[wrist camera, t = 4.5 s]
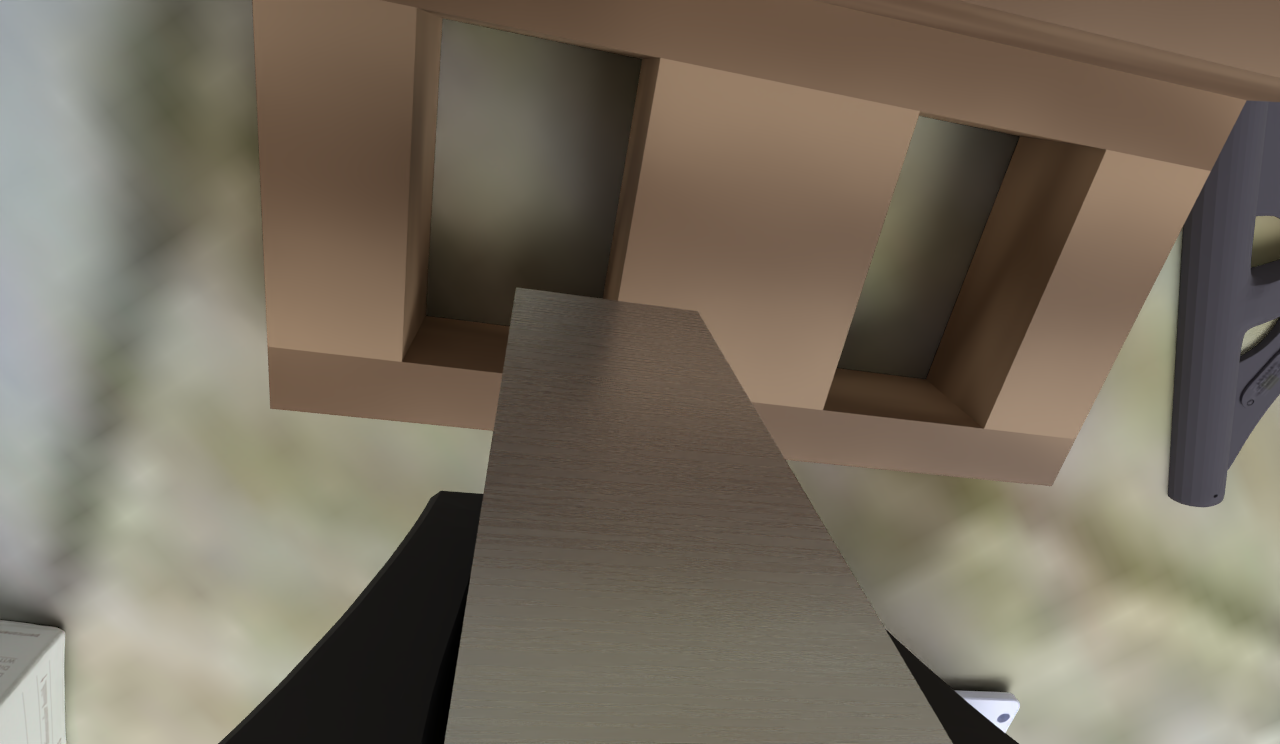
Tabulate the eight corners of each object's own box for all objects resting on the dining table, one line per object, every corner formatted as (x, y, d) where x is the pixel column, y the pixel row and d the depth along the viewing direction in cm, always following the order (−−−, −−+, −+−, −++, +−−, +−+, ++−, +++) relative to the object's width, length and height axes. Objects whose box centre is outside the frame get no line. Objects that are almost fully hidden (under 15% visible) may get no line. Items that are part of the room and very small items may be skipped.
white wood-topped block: (634, 596, 14) (727, 1199, 6) (484, 589, 13) (400, 1240, 6) (698, 311, 11) (965, 767, 4) (516, 287, 11) (441, 763, 3)
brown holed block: (988, 432, 21) (1137, 559, 16) (314, 355, 18) (206, 485, 12) (1165, 30, 17) (1463, 13, 11) (306, -183, 13) (129, -359, 8)
